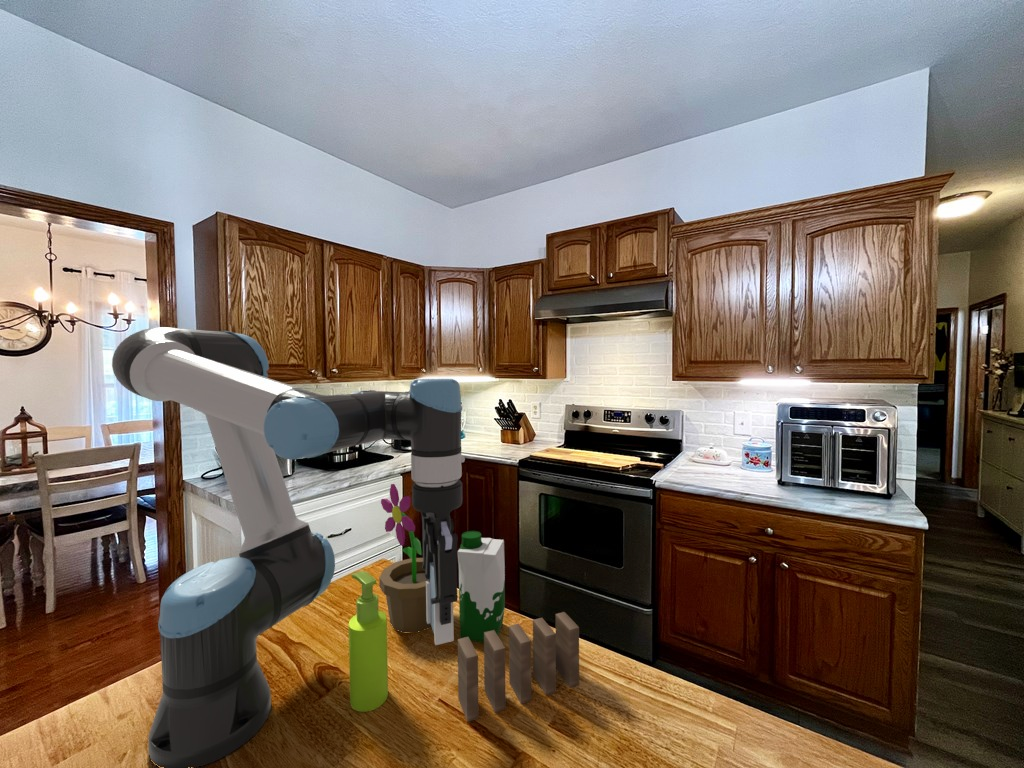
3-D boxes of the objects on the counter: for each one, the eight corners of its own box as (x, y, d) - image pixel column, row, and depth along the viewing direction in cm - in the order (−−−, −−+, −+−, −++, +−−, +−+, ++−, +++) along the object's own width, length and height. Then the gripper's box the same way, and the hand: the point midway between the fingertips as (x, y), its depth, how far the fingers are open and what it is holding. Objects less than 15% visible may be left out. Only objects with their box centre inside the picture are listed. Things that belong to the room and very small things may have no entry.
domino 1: (437, 643, 63) (436, 576, 63) (430, 624, 68) (429, 562, 67) (449, 640, 64) (448, 574, 63) (441, 622, 68) (441, 560, 68)
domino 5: (546, 695, 71) (545, 636, 70) (533, 675, 75) (532, 619, 75) (555, 692, 71) (555, 633, 71) (542, 672, 76) (542, 617, 75)
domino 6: (569, 687, 72) (569, 629, 72) (555, 668, 77) (555, 614, 77) (579, 684, 73) (579, 627, 73) (564, 665, 78) (564, 611, 77)
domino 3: (494, 712, 67) (494, 650, 67) (484, 690, 72) (484, 632, 71) (505, 709, 68) (505, 647, 67) (494, 687, 72) (494, 629, 72)
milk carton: (467, 616, 93) (466, 525, 92) (508, 621, 91) (507, 528, 91) (454, 642, 84) (453, 542, 84) (499, 647, 83) (498, 545, 82)
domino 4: (521, 704, 69) (520, 643, 68) (509, 683, 73) (508, 626, 73) (531, 700, 70) (531, 640, 69) (518, 680, 74) (518, 623, 74)
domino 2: (467, 722, 65) (466, 658, 65) (458, 698, 70) (457, 639, 70) (478, 718, 66) (477, 655, 66) (468, 695, 71) (468, 636, 70)
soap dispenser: (374, 676, 75) (372, 564, 74) (394, 697, 70) (392, 578, 70) (341, 694, 71) (338, 575, 70) (360, 718, 66) (357, 591, 65)
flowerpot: (367, 620, 92) (364, 482, 91) (422, 593, 103) (420, 469, 101) (405, 649, 82) (403, 495, 81) (461, 617, 93) (460, 480, 92)
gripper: (479, 493, 58) (481, 660, 59) (446, 465, 75) (448, 596, 75) (424, 500, 55) (427, 676, 56) (403, 470, 72) (405, 606, 73)
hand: (439, 630), depth 66 cm, fingers closed on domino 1, 5 cm apart
